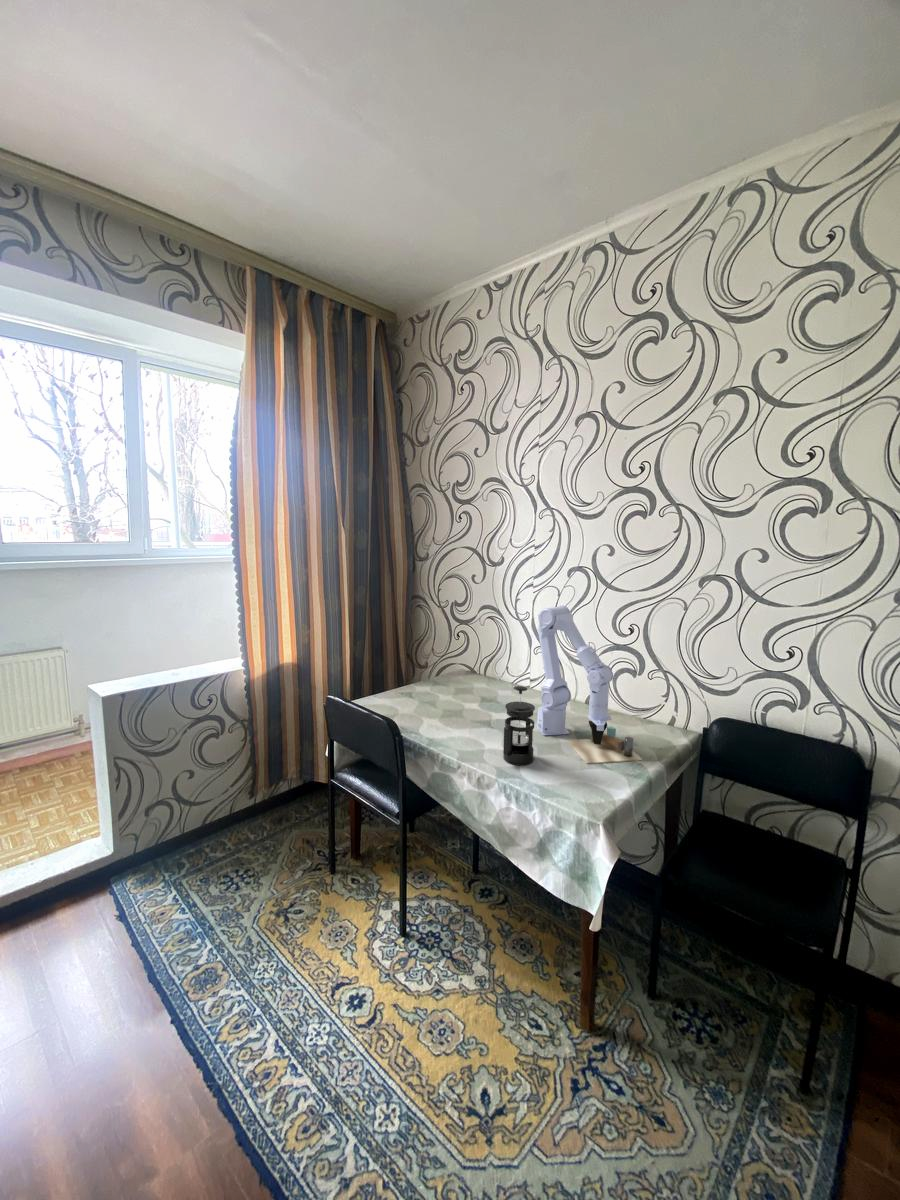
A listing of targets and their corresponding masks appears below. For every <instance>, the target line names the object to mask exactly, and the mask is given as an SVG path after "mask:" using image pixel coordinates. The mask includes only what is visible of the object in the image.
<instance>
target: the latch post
mask: <svg viewBox="0 0 900 1200" xmlns="http://www.w3.org/2000/svg"><path fill="white" fill-rule="evenodd" d="M606 734H607V735H609V736H612V737H617V736H616V735H617V728H616V727H614V726H607V728H606Z"/></svg>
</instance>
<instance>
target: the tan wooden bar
mask: <svg viewBox="0 0 900 1200" xmlns="http://www.w3.org/2000/svg"><path fill="white" fill-rule="evenodd" d="M590 737H591V738H590V739H591V741H593V736H592V732H591V736H590ZM615 737H616V736H615ZM615 737H612V736H609V735H607V733H605V732H604V733H603V736H602V741H601V745H603V746H606V747H609V748H611V749H614V750H616V751H619V752H622V751H623V750H624V746H625V740H623V739H620V738H619V739H617V738H615Z"/></svg>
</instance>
